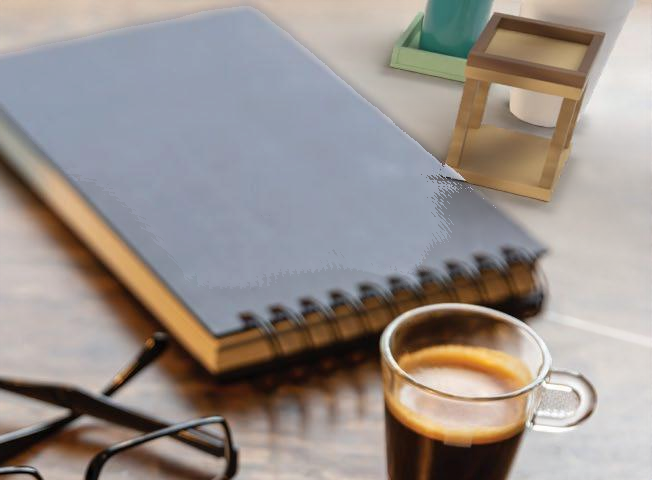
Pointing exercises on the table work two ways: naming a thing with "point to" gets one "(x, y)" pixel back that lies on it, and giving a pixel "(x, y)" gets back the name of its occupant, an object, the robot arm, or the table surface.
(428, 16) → the teal rounded block
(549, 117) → the foam cup
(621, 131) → the table surface
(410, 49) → the tray
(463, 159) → the stand
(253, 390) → the table surface
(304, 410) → the table surface
